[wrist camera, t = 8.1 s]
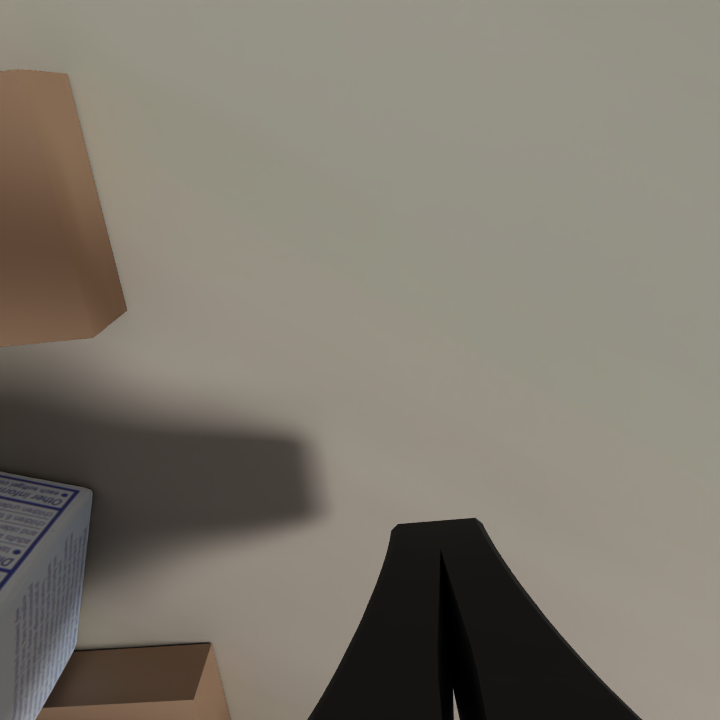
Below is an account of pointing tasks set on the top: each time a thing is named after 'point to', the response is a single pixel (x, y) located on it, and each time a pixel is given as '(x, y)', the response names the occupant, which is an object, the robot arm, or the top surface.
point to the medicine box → (38, 587)
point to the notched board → (70, 322)
